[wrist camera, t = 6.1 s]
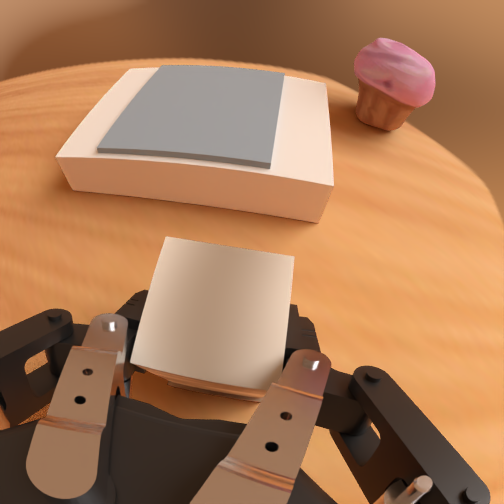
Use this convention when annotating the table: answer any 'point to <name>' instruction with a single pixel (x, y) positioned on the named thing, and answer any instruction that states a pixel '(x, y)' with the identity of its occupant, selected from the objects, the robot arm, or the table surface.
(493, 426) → the table surface
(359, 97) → the cupcake
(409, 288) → the table surface
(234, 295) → the memo note cube
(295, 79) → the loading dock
